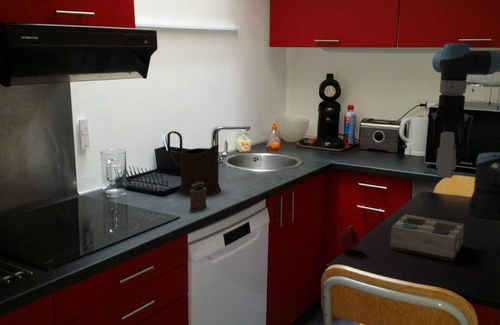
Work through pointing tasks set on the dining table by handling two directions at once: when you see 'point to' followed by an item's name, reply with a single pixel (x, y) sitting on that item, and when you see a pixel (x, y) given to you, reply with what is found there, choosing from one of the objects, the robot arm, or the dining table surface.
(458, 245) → the socket board
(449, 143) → the plug
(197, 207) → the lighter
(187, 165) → the dark brown mug
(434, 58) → the robot arm
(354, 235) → the onion
